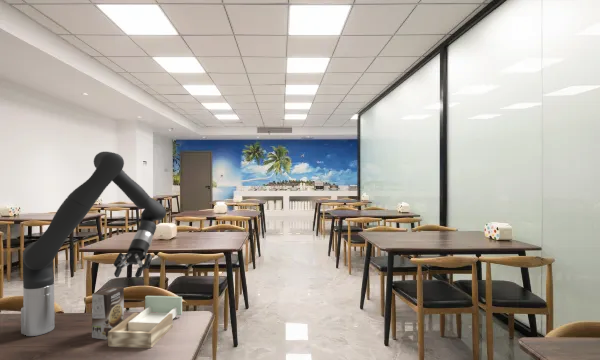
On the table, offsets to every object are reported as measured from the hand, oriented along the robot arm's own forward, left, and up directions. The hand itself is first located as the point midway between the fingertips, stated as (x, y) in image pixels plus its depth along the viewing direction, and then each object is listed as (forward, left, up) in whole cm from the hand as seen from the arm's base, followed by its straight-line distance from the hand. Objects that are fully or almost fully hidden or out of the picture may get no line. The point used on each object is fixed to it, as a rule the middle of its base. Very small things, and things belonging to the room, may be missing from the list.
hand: (126, 276), depth 139 cm
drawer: (+14, -4, -16) cm, 22 cm away
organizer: (+14, -13, -17) cm, 26 cm away
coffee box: (0, -12, -18) cm, 21 cm away
